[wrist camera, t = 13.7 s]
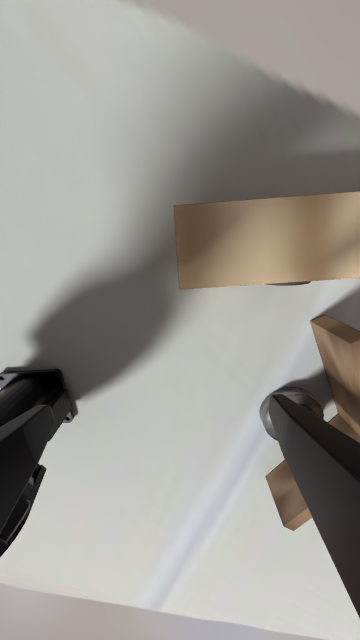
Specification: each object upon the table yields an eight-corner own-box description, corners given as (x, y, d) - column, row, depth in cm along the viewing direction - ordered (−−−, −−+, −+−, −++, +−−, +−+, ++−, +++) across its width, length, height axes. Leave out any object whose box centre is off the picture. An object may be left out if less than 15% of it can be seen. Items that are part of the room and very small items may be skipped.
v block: (264, 480, 27) (282, 530, 22) (312, 314, 20) (353, 334, 15) (326, 484, 27) (357, 534, 22) (396, 320, 20) (463, 342, 15)
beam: (180, 283, 19) (179, 294, 14) (175, 217, 17) (173, 205, 13) (362, 271, 19) (425, 279, 14) (376, 202, 17) (453, 184, 12)
